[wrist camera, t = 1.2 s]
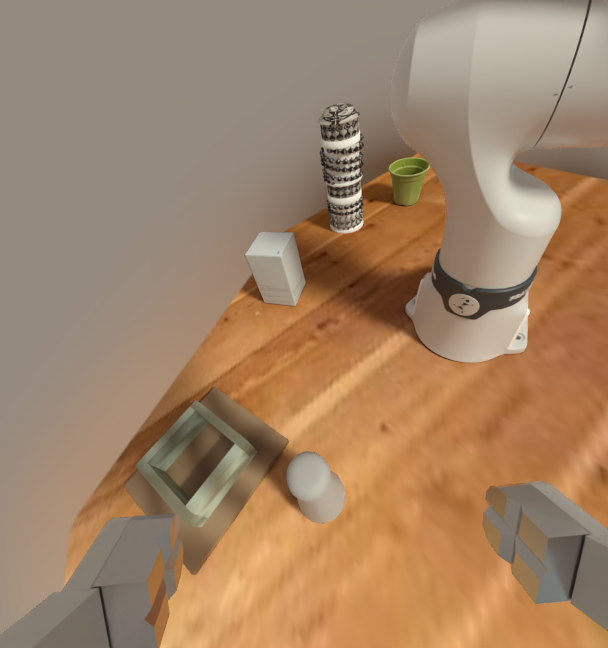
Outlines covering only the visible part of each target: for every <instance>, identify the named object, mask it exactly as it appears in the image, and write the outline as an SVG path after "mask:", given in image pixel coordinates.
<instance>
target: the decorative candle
mask: <svg viewBox="0 0 608 648" xmlns="http://www.w3.org/2000/svg"><path fill="white" fill-rule="evenodd" d="M359 115H360V113H359V111H356V110H355V108H354V107H353V105H351V104H347V103H342V104H336V105H333V106H330V107H328V108H326V110H324V112H323V114H322V117H320V119H319V120H318V122H319V123H320V125H321V134H322V136H321V141H322V148H321V151H320V155H321V162H322V163H321V164H322V166H324V168H323V174H324V176H323V177H324V178H325V179H324V181H325V183H326V184H327V186H328V200H327V202H328V203H327V204H328V208H329V209H328V211H329V213H328V215H329V221H330V227H331V229H332V230H333V231H334V232H337V233H341V234H347V233H352V232H355V231H357V230H359V229H360V228H361V227H362V225H363V219H362V218H364V216H363V212H364V210H362V209H363V207H362V206H363V202H362V199H363V196H362V190H361V185H360V184H361V183H360V180H361V177H362V174H363V172H362V171H361V169H360V168H361V167H362V165H363V162H362V160H361V159H362V157H363V154H362V153H361V152H359V150H361V149H362V148H363V146H364V144H363V143H362V142H361V140H362V139H363V136H362V134H360V130H359ZM359 140H360V141H359ZM323 152H324V153H323ZM324 161H325V162H324Z"/></svg>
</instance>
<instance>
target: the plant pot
mask: <svg viewBox="0 0 608 648" xmlns="http://www.w3.org/2000/svg"><path fill="white" fill-rule="evenodd" d="M429 168H430V165H429V164H428V162H427V161H426V160H425V159H422V158H404V159H400V160H397V161H395V162H394V163H392V164H391V165H390V166H389V172H390V173H391V177H392V184H393V197H394V202H395V203H396V204H398V205H405V206H409V205H412V204H415V203H416V202H417V201H418V199H419V195H420V191H421V188H422V184H423V181H424V177H425V175H426V173H427V171H428V170H429Z"/></svg>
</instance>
